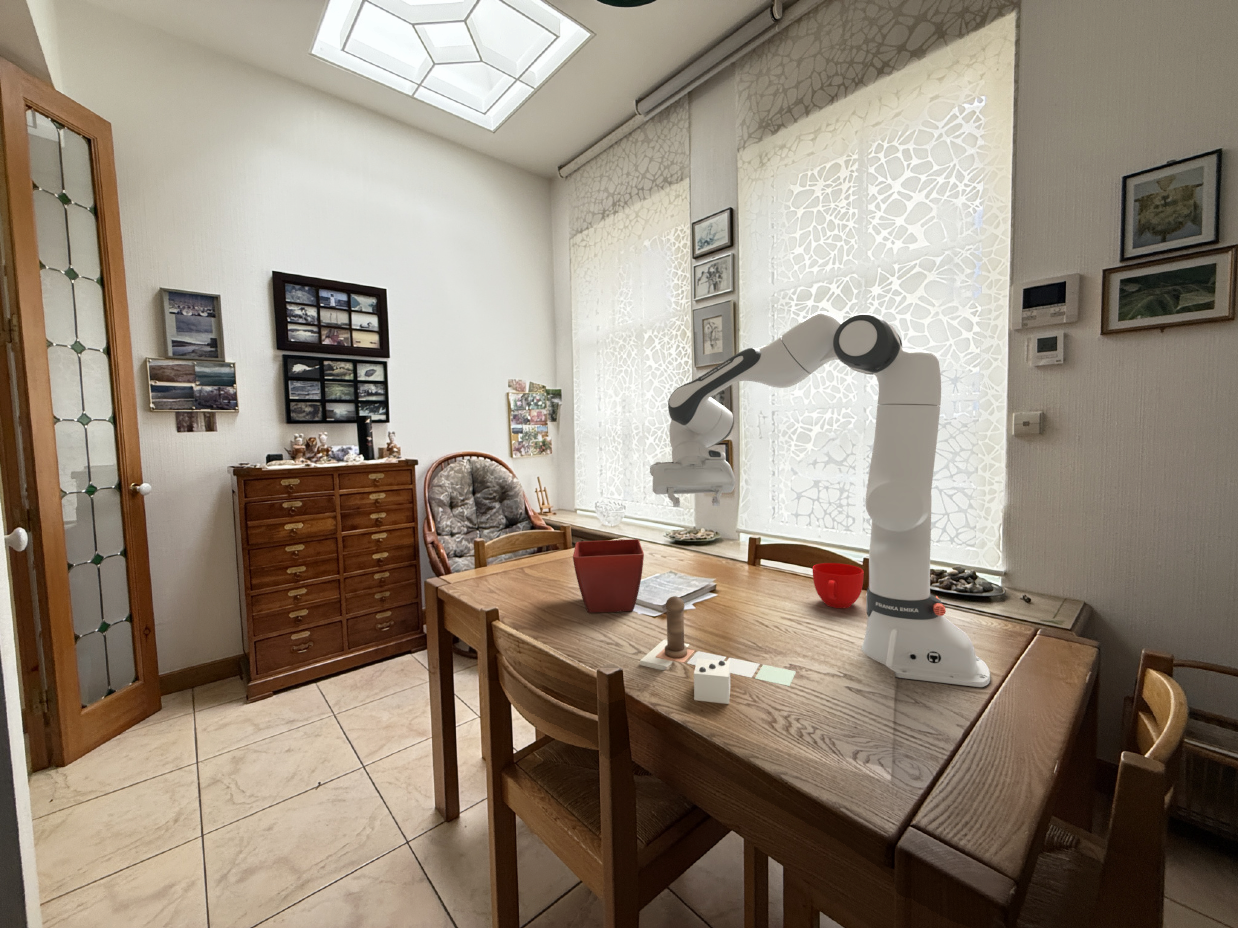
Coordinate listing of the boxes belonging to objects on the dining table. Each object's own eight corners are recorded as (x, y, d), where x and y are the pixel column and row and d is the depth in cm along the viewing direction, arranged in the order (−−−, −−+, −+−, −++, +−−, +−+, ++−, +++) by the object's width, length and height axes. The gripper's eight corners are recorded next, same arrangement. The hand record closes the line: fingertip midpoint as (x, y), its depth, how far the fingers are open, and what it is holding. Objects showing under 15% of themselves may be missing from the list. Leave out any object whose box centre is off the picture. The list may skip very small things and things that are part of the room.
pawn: (691, 652, 106) (690, 596, 105) (677, 660, 102) (676, 602, 102) (674, 646, 109) (673, 591, 109) (660, 653, 106) (658, 597, 105)
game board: (810, 673, 98) (810, 667, 98) (799, 702, 87) (799, 695, 87) (664, 643, 114) (664, 638, 114) (640, 664, 103) (640, 659, 103)
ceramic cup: (804, 611, 132) (804, 575, 131) (818, 594, 146) (818, 560, 145) (857, 620, 124) (857, 581, 124) (866, 601, 138) (866, 566, 138)
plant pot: (574, 618, 131) (572, 556, 130) (577, 595, 150) (576, 541, 149) (645, 615, 132) (644, 553, 131) (640, 593, 151) (639, 538, 150)
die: (730, 692, 91) (730, 658, 91) (729, 710, 86) (728, 673, 85) (697, 689, 93) (697, 655, 93) (694, 706, 87) (693, 669, 87)
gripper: (649, 454, 124) (653, 497, 114) (731, 452, 124) (741, 495, 114) (649, 470, 128) (652, 513, 119) (727, 469, 128) (736, 511, 119)
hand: (696, 505), depth 117 cm, fingers open, 8 cm apart
